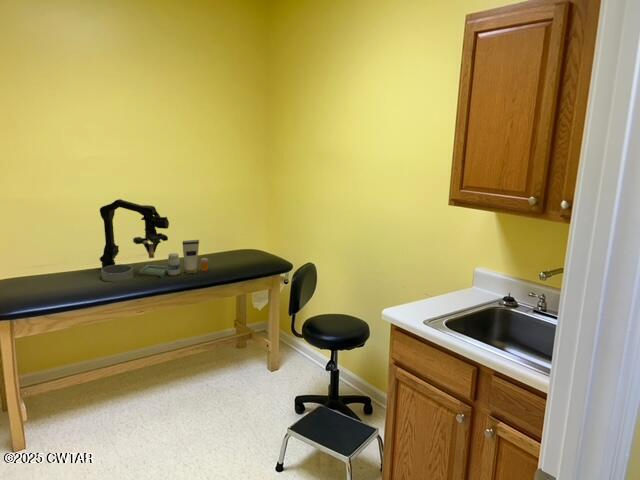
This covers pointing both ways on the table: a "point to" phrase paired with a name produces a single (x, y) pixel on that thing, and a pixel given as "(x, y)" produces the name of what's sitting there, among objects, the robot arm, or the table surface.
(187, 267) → the toiletry set
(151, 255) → the dowel pin
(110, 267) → the translucent round bowl
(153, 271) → the tray
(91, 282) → the table surface
